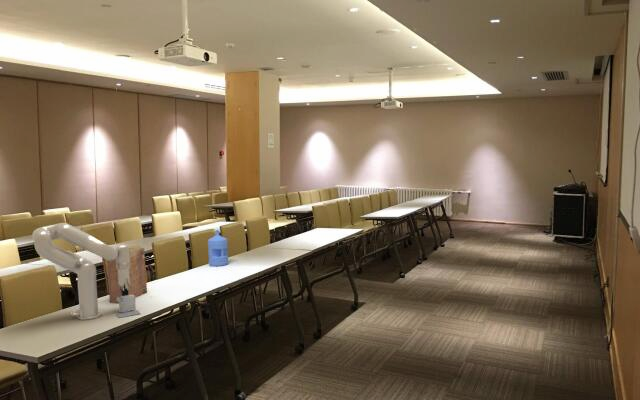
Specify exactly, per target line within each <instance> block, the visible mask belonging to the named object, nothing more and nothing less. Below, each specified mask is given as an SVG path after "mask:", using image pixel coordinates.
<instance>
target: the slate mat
mask: <svg viewBox="0 0 640 400" xmlns="http://www.w3.org/2000/svg"><path fill="white" fill-rule="evenodd" d="M141 313H142V312H140V311H139V310H133V311H128V312H124V313H122V312H120V313H115V316H116V317H117V319H121V318H126V317H127V318H128V317H133V316H139V315H142V314H141Z"/></svg>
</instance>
